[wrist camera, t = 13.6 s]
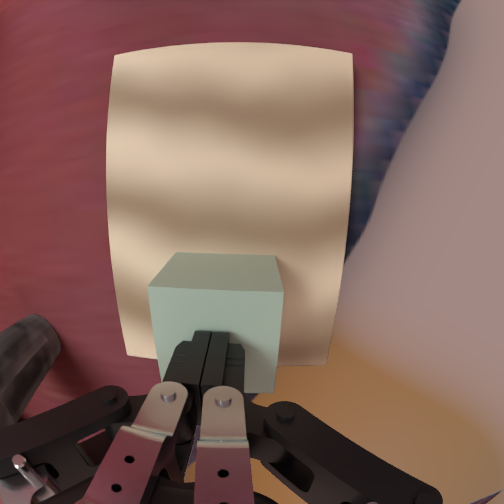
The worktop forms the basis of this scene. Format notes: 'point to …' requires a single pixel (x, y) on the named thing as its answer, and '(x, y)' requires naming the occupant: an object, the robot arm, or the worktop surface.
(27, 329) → the beverage cup
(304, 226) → the post board
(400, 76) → the worktop surface
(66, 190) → the worktop surface
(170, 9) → the worktop surface
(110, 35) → the worktop surface
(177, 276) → the grey-green block
